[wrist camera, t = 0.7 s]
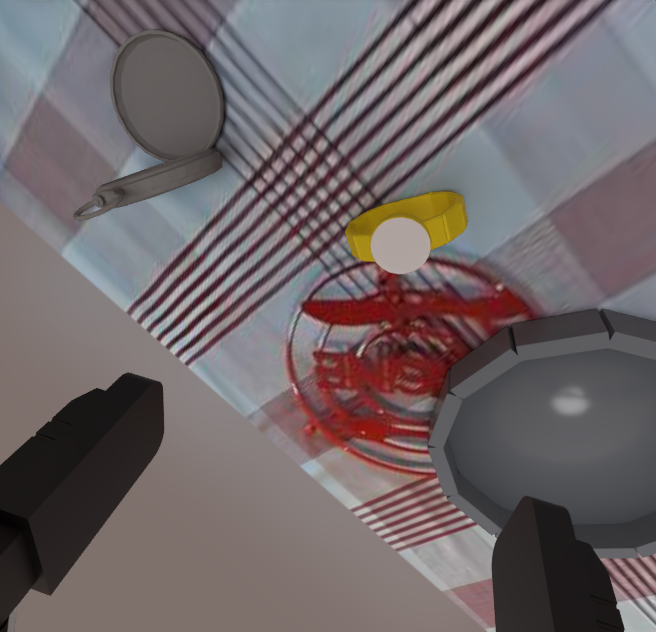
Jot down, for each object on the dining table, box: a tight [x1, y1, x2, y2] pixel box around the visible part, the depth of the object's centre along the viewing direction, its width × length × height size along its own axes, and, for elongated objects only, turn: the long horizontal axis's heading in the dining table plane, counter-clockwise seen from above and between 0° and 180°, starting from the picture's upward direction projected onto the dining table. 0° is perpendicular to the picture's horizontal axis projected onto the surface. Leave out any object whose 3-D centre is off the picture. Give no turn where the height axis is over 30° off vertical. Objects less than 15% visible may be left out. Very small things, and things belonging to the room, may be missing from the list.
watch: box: [345, 191, 468, 274], centre depth 23 cm, size 6×3×6 cm, turn 108°
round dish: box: [428, 309, 656, 558], centre depth 29 cm, size 18×18×2 cm
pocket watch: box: [73, 29, 224, 221], centre depth 22 cm, size 8×8×10 cm
